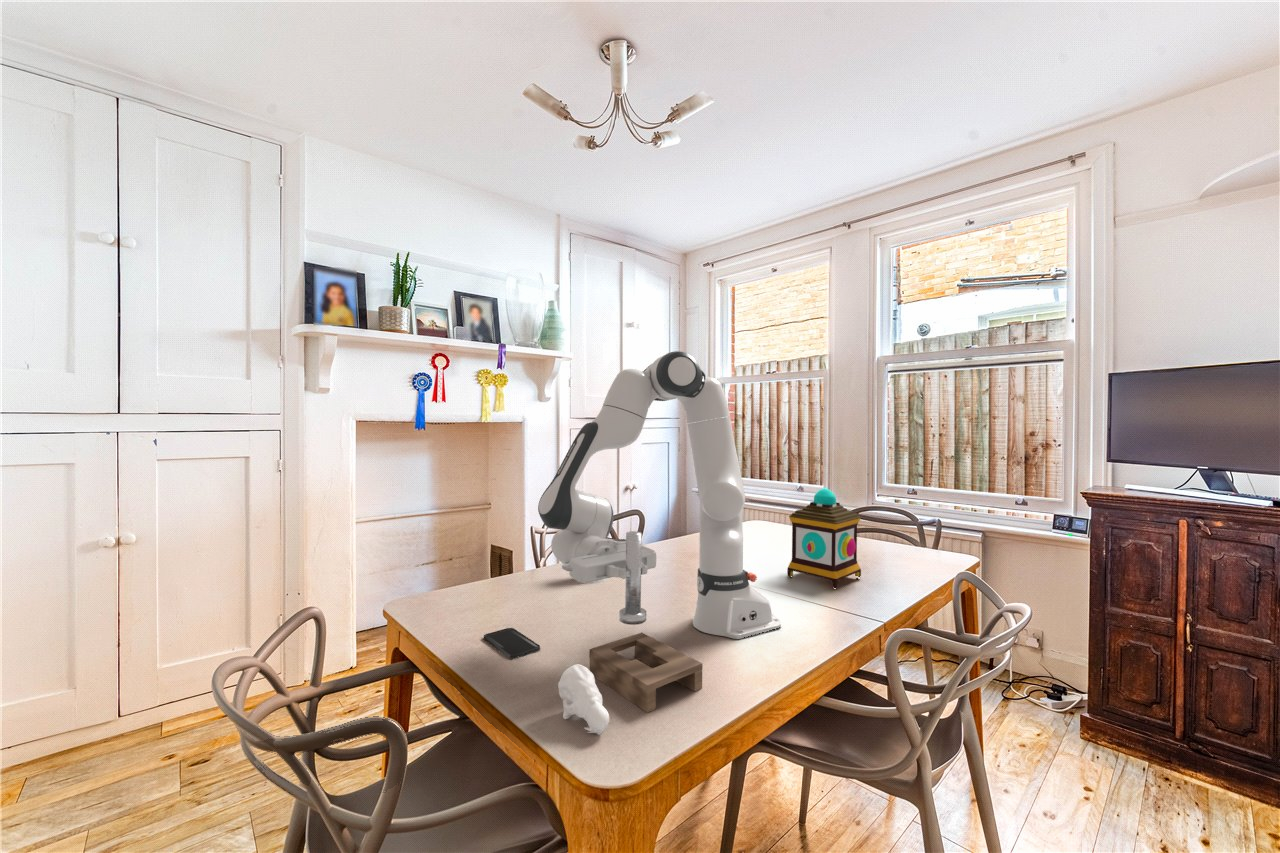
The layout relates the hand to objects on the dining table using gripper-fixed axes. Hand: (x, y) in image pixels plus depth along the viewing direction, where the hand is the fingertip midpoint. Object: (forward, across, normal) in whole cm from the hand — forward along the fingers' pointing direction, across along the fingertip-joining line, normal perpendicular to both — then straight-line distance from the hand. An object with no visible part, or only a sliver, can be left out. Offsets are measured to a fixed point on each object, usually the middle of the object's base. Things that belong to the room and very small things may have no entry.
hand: (636, 572), depth 110 cm
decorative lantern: (-14, +90, +21) cm, 94 cm away
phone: (-30, -14, +22) cm, 40 cm away
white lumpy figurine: (+8, -17, +22) cm, 29 cm away
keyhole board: (+3, 0, +21) cm, 22 cm away
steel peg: (-1, 0, +10) cm, 10 cm away
